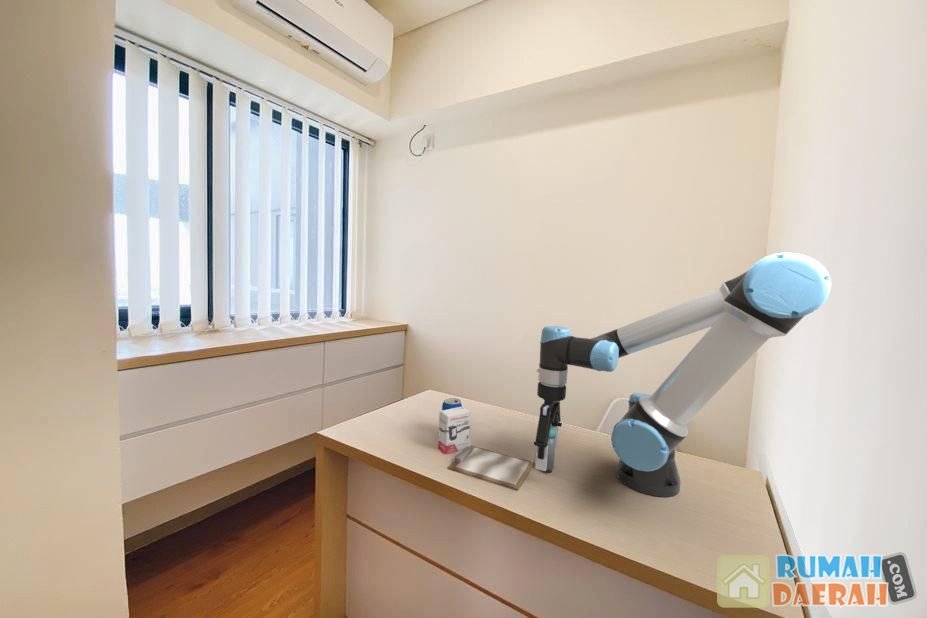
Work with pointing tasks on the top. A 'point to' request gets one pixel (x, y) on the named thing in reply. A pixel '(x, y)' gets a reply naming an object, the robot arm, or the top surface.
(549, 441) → the marker
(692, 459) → the top surface
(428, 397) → the top surface
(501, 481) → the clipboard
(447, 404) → the beverage can
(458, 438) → the ink box
